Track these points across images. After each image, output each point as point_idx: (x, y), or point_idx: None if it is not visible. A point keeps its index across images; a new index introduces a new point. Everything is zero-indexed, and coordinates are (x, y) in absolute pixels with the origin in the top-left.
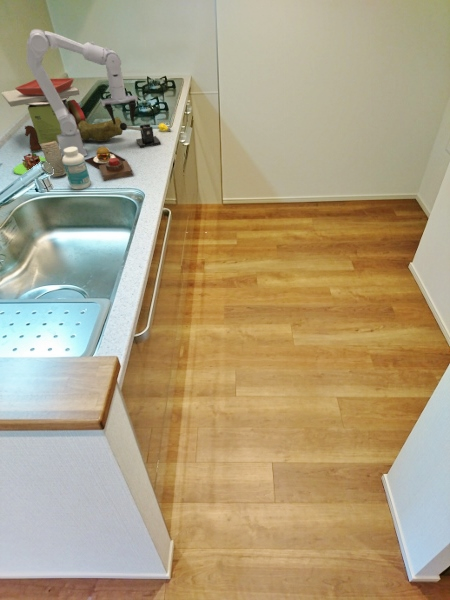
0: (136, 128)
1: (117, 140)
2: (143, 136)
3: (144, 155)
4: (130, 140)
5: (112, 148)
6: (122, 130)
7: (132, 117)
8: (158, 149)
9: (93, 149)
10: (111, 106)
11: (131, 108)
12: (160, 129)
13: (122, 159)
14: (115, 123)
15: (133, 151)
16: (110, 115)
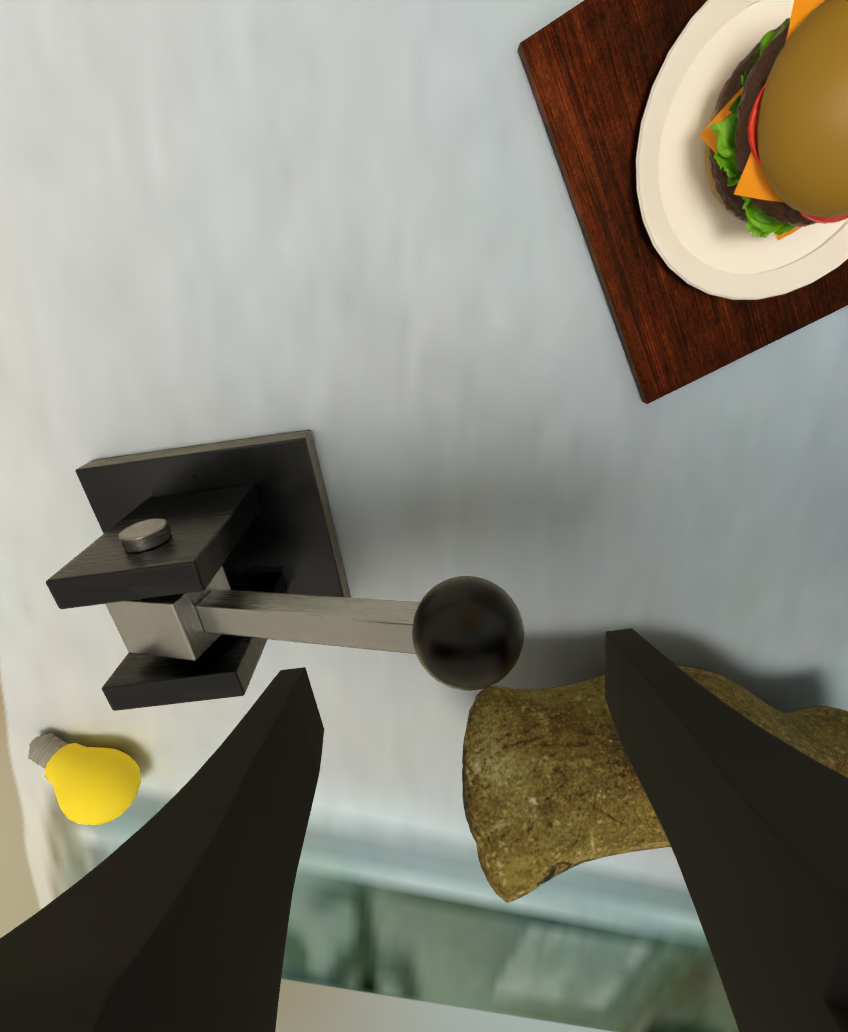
0: (285, 606)
1: (519, 674)
2: (232, 517)
3: (262, 171)
4: None
5: (596, 509)
6: (469, 721)
7: (269, 708)
8: (101, 325)
9: (773, 539)
10: (839, 1024)
11: (172, 880)
12: (121, 760)
13: (556, 60)
14: (609, 633)
15: (393, 357)
16: (774, 738)
